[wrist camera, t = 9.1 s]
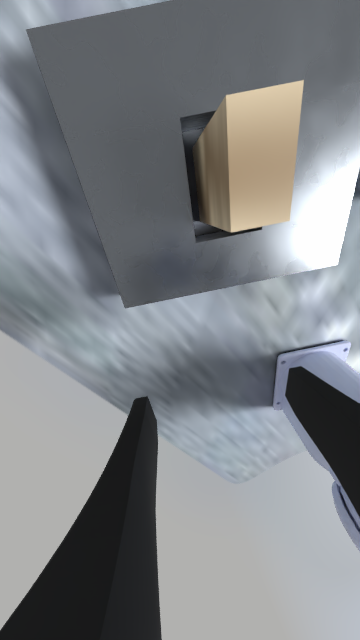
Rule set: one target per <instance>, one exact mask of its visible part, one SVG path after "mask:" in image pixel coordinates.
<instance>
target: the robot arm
mask: <svg viewBox="0 0 360 640" xmlns="http://www.w3.org/2000/svg"><path fill="white" fill-rule="evenodd" d="M350 346H351V343H350V342H349V341H342V342H337V343H332V344H327V345H322V346H317V347H313V348H308V349H303V350H298V351H293V352H288V353H284V354H280V355H279V356H278V360H277V370H276V380H275V390H274V400H273V408H274V410H281V409H282V410H283V412H284V413H285V415H286V416H287V418H288V420H289V421H290V423H291V425H292V426H293V428H294V429H295V431H296V433H297V434H298V436H299V437H300V439H301V441H302V442H303V444H304V446H305V447H306V449H307V450H308V452H309V453H310V455H311V456H312V457H313V458H314V460H315V461H317V463H319V464H320V465H321V466H323V467H324V468H325V469H326V470H328V471H329V472H330V474H331V475H332V477H333V478H334V480H335V482H334V483H333V484H332V494H333V498H334V504H335V507H336V510H337V513H338V515H339V517H340V520H341V522H342V524H343V526H344V527H345V529H346V531H347V533H348V534H349V536H350V537H351V539H352V541H353V542H354V544H355V545H356V547H357V548H358V550H359V551H360V374H359V373H358V372H357V371H355V370H354V369H353V368H352V367H351V366H349V365H348V364H347V363H346V359H347V356H348V352H349V349H350ZM282 361H283V362H282ZM157 451H158V434H157V420H156V418H155V415H154V412H153V410H152V407H151V404H150V401H149V399H148V396H146V397H141V398H136V399H135V400H134V402H133V405H132V408H131V410H130V413H129V416H128V418H127V421H126V423H125V426H124V428H123V430H122V433H121V435H120V438H119V440H118V442H117V444H116V446H115V449H114V451H113V453H112V455H111V457H110V459H109V461H108V463H107V465H106V467H105V469H104V471H103V473H102V475H101V477H100V479H99V481H98V482H97V484H96V486H95V488H94V490H93V491H92V493H91V495H90V497H89V499H88V500H87V502H86V504H85V505H84V507H83V509H82V510H81V512H80V514H79V515H78V517H77V519H76V520H75V522H74V524H73V525H72V527H71V528H70V530H69V532H68V533H67V535H66V536H65V538H64V540H63V541H62V543H61V544H60V546H59V547H58V549H57V550H56V552H55V553H54V555H53V556H52V558H51V559H50V561H49V562H48V564H47V565H46V567H45V568H44V570H43V571H42V573H41V574H40V576H39V577H38V579H37V580H36V582H35V583H34V584H33V586H32V587H31V589H30V590H29V592H28V593H27V594H26V596H25V597H24V598H23V600H22V601H21V603H20V604H19V605H18V607H17V608H16V609H15V611H14V612H13V614H12V615H11V616H10V618H9V619H8V621H7V622H6V623H5V625H4V626H3V627H2V629H1V630H0V640H162V639H161V623H160V607H159V588H158V568H157V546H156V544H157V543H156V514H155V507H156V477H157V454H158V452H157Z"/></svg>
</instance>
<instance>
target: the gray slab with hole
mask: <svg viewBox="0 0 360 640" xmlns="http://www.w3.org/2000/svg"><path fill="white" fill-rule="evenodd" d="M26 31H27V34H28V37H29V39H30V42H31V45H32V48H33V51H34V54H35V56H36V59H37V62H38V65H39V68H40V70H41V73H42V76H43V79H44V82H45V85H46V87H47V90H48V93H49V96H50V99H51V101H52V104H53V107H54V110H55V113H56V115H57V118H58V121H59V124H60V127H61V130H62V132H63V135H64V138H65V141H66V144H67V146H68V149H69V152H70V155H71V158H72V161H73V163H74V166H75V169H76V172H77V175H78V177H79V180H80V183H81V186H82V189H83V191H84V194H85V197H86V200H87V203H88V206H89V208H90V211H91V214H92V217H93V220H94V222H95V225H96V228H97V231H98V234H99V237H100V239H101V242H102V245H103V248H104V251H105V253H106V256H107V259H108V262H109V265H110V267H111V270H112V273H113V276H114V279H115V282H116V284H117V287H118V290H119V293H120V296H121V298H122V301H123V304H124V307H125V308H129V307H134V306H139V305H144V304H149V303H154V302H159V301H163V300H168V299H173V298H178V297H183V296H188V295H193V294H198V293H202V292H207V291H212V290H217V289H222V288H227V287H232V286H237V285H241V284H246V283H251V282H256V281H261V280H266V279H271V278H275V277H280V276H285V275H290V274H295V273H300V272H305V271H310V270H314V269H319V268H324V267H329V266H334V265H337V264H338V259H339V255H340V251H341V246H342V242H343V238H344V233H345V229H346V224H347V220H348V216H349V211H350V207H351V203H352V198H353V194H354V189H355V185H356V181H357V176H358V172H359V167H360V0H171V1H166V2H161V3H156V4H151V5H146V6H141V7H136V8H131V9H126V10H121V11H116V12H111V13H106V14H101V15H96V16H91V17H86V18H81V19H76V20H71V21H66V22H61V23H56V24H51V25H46V26H41V27H36V28H31V29H26ZM301 80H304V84H303V94H302V104H301V114H300V124H299V134H298V144H297V154H296V164H295V174H294V184H293V194H292V204H291V214H290V221H287V222H282V223H277V224H272V225H267V226H262V227H257V228H252V229H247V230H242V231H237V232H232V233H231V232H228V231H221V232H216V233H211V234H206V235H202V236H197V237H195V232H194V224H193V216H192V209H191V201H190V193H189V185H188V177H187V169H186V161H185V153H184V146H183V138H182V132H185V131H190V130H195V129H200V128H205V127H206V126H207V124H208V123H209V121H210V120H211V118H212V116H213V115H214V113H215V112H216V110H217V109H218V107H219V105H220V104H221V102H222V101H223V99H224V98H225V96H226V95H230V94H235V93H240V92H245V91H250V90H255V89H261V88H266V87H271V86H276V85H281V84H286V83H291V82H296V81H301Z"/></svg>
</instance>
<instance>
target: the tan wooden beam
mask: <svg viewBox="0 0 360 640" xmlns="http://www.w3.org/2000/svg"><path fill="white" fill-rule="evenodd" d="M303 84H304V80H301V81H296V82H291V83H286V84H281V85H276V86H271V87H266V88H261V89H255V90H250V91H245V92H240V93H235V94H230V95H226V96H225V98H224V99H223V101H222V102H221V104H220V105H219V107H218V109H217V110H216V112H215V113H214V115H213V116H212V118H211V120H210V121H209V123H208V124H207V126H206V127H205V129H204V131H203V132H202V134H201V135H200V137H199V138H198V140H197V142H196V143H195V145H194V146H193V148H192V150H193V159H194V169H195V178H196V188H197V197H198V206H199V216H200V222H203V223H206V224H209V225H211V226H214V227H217V228H220V229H222V230H225V231H228V232H231V233H232V232H237V231H242V230H247V229H252V228H257V227H262V226H267V225H272V224H277V223H282V222H287V221H290V214H291V204H292V194H293V184H294V174H295V164H296V154H297V144H298V134H299V124H300V114H301V104H302V94H303Z"/></svg>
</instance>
